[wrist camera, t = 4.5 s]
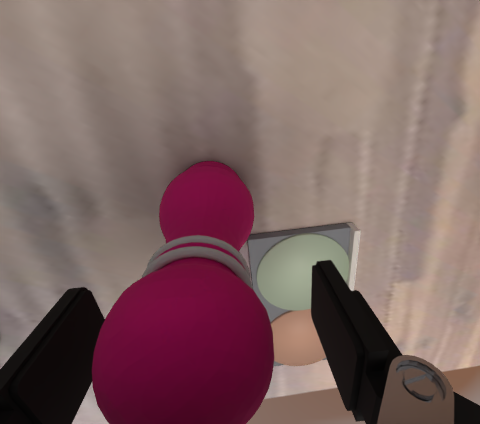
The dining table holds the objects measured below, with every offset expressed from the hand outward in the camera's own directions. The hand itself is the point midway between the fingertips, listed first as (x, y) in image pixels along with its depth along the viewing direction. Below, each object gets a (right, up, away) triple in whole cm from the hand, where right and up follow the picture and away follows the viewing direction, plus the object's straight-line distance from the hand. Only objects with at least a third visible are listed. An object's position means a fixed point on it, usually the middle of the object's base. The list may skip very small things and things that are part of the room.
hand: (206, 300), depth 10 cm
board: (+9, -7, +19) cm, 22 cm away
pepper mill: (-1, +6, +13) cm, 14 cm away
